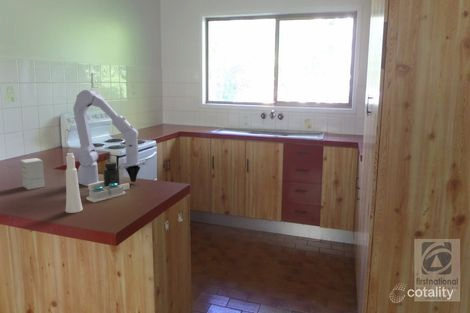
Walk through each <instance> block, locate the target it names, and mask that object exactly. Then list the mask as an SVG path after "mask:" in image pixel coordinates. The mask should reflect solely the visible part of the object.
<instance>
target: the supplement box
mask: <svg viewBox="0 0 470 313" xmlns="http://www.w3.org/2000/svg"><path fill="white" fill-rule="evenodd" d="M43 163H44V162H43V160H42V159H40V158H38V157H35V158H26V159H20V169H21V179H22V187H23V188H25V189H26V190H27V191H28V190H33V189H39V188H44V187H45V185H46V184H45V174H44V164H43Z"/></svg>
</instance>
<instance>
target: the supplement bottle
mask: <svg viewBox="0 0 470 313" xmlns="http://www.w3.org/2000/svg"><path fill="white" fill-rule="evenodd" d="M102 173H103V181H104V187H107V186H109V184H110V183H118V185H121V184H120V181H121V180H120V179H121V178H120V169H118V165H117V162H116V161H110V162H108V161H107V162H105V163H104V169H103V170H102ZM104 187H103V188H104Z"/></svg>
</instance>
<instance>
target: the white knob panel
mask: <svg viewBox="0 0 470 313" xmlns="http://www.w3.org/2000/svg"><path fill="white" fill-rule="evenodd" d="M100 181H101V182H96V183H92V184H88V186H87V187H88V196H86V200H87V201H89V202H92V203H96V202H97V203H98V202H102V201H104V200H109V199H113V198H117V197H120V196H124V195H126V194H127V192H126V190H130V183H129V182H125V183H121V184H120V185H117V188H114V189H111V188H110V186H107V187H104V180H100ZM95 186H103V189H102V191H101V192H95V189H94V187H95Z"/></svg>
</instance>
